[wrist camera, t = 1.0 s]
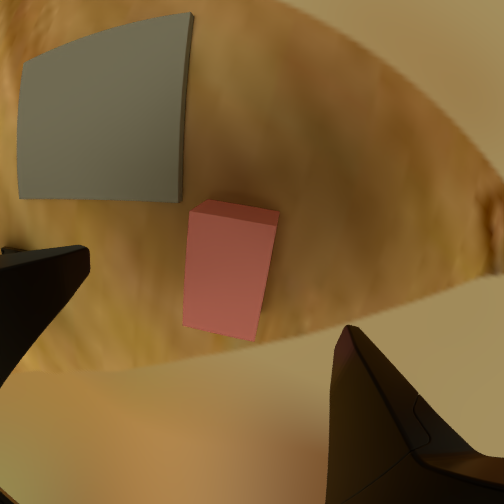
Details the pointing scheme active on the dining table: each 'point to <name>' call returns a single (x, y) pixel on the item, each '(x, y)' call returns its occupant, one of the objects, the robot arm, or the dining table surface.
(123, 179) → the mat
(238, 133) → the dining table surface
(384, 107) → the dining table surface
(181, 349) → the dining table surface
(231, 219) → the red block
